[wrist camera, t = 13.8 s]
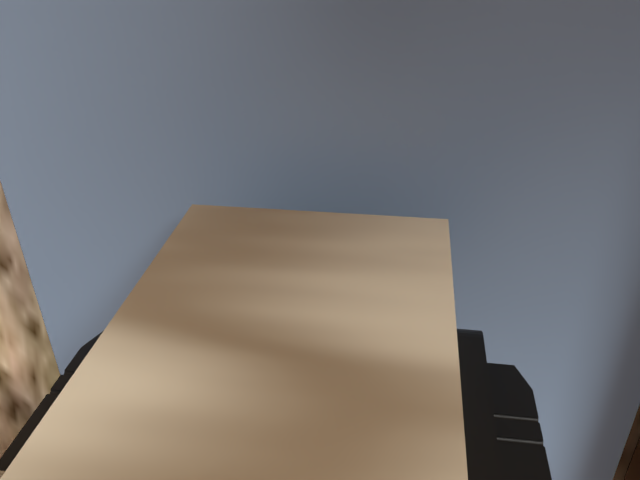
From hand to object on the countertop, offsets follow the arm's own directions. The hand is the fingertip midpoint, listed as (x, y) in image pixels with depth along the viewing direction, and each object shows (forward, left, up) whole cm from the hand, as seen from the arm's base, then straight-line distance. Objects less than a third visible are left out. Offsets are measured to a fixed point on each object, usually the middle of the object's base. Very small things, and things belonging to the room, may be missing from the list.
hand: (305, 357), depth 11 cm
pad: (0, 0, -4) cm, 4 cm away
